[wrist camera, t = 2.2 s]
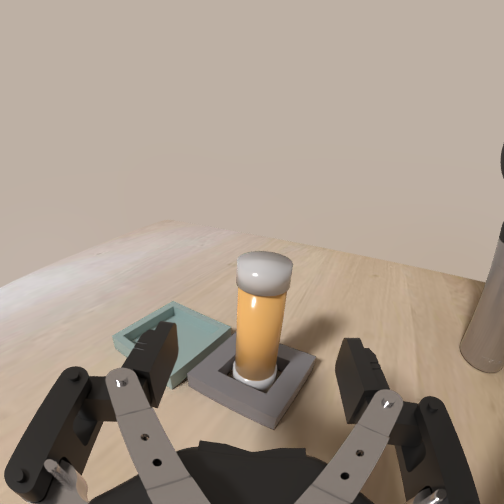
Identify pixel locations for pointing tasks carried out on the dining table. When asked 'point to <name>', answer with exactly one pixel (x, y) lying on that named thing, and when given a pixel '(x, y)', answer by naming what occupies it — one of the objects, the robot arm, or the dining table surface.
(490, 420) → the dining table surface
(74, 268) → the dining table surface
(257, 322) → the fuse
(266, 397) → the frame
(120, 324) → the dining table surface
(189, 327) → the parts tray
